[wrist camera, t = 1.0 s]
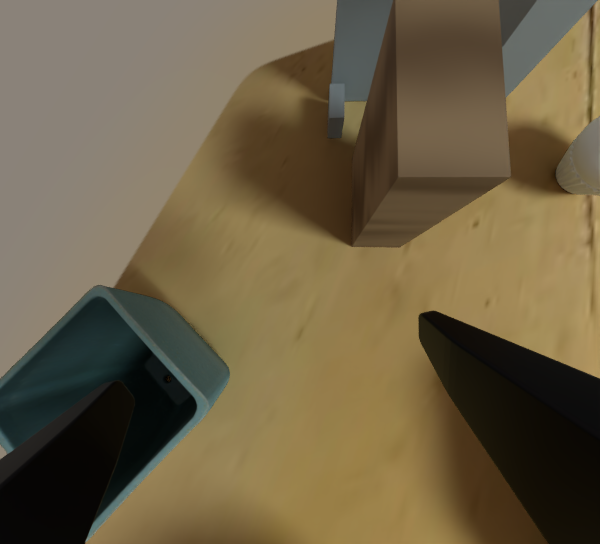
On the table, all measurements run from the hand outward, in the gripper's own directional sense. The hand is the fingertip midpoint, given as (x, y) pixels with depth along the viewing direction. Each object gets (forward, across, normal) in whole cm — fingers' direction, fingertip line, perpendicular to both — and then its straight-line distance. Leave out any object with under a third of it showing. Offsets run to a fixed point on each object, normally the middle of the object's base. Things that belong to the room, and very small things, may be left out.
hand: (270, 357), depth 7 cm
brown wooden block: (+16, -9, 0) cm, 18 cm away
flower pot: (+11, +10, +8) cm, 17 cm away
